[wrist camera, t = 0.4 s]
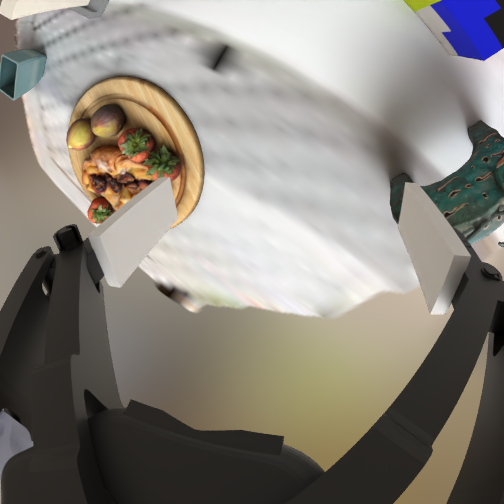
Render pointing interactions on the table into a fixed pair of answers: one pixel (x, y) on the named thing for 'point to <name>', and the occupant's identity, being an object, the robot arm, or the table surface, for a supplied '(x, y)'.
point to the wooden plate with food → (133, 146)
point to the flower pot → (20, 71)
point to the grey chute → (92, 8)
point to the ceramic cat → (467, 188)
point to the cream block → (35, 6)
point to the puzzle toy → (464, 25)
